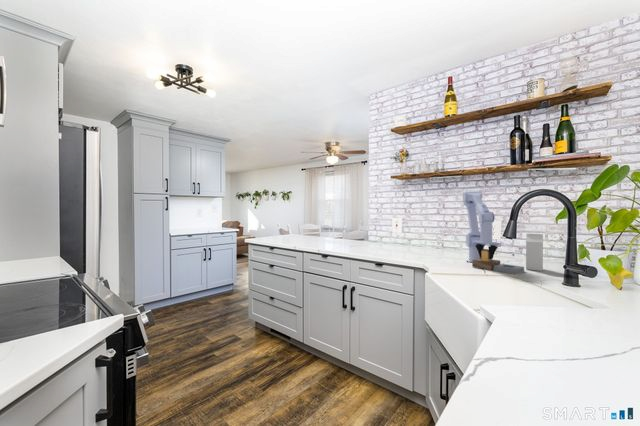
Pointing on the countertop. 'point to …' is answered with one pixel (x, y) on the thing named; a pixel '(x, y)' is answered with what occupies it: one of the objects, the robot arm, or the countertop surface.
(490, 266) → the upper jack
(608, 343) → the countertop surface
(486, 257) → the plug
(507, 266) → the lower jack
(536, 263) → the milk carton
